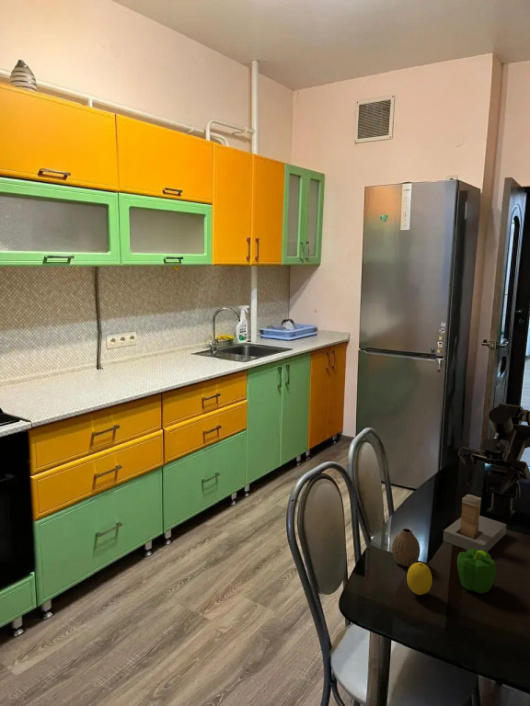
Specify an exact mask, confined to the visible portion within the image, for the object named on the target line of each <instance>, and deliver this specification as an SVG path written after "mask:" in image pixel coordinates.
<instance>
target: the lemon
mask: <svg viewBox="0 0 530 706" xmlns="http://www.w3.org/2000/svg"><path fill="white" fill-rule="evenodd" d="M406 581H407V586H408V588H409V589H410V591H412V593H414V594H416V595H417V596H420V595H425V594H427V593H428V592H429V591H430V590H431V587H432V584H433V576H432V571H431V569H430V568H429V567H428V566H427V565H426V563H424V562H421V561H419V562H418V561H417V562H416V563H414V564H412V565H411V566H409V567H408V570H407V574H406Z"/></svg>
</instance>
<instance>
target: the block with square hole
mask: <svg viewBox="0 0 530 706" xmlns="http://www.w3.org/2000/svg"><path fill="white" fill-rule="evenodd" d="M460 529H461V517H459V518H458V519H456V520H455V521H454V522H452V523H451V524H450V525H449V526H448V527H446V528H445V529H443V534H442V535H443V537H442V542H446V543H448V544H451V545H452V546H453V545H454V546H456V547H458V548H461V549H464V550H466V551H467V550H469V549H472V548H473V549H475V550H478V551H479V550H482V551H484V552H488V553H489V551H490V550H491V549H492V548H493V547H494V546H495V545H496V544H497V543H498V542H499V541H500V540H501V539H502V538H503V537H504V536H505V535H506V533H507V523H503V522H501V521H497V520H494V519H492V518H488V517H486V516H482V515H480V516H479V529H478V538H477V539H476V540H475V539H472V538H469V537H466V536H464V535H461V534H460Z"/></svg>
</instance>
